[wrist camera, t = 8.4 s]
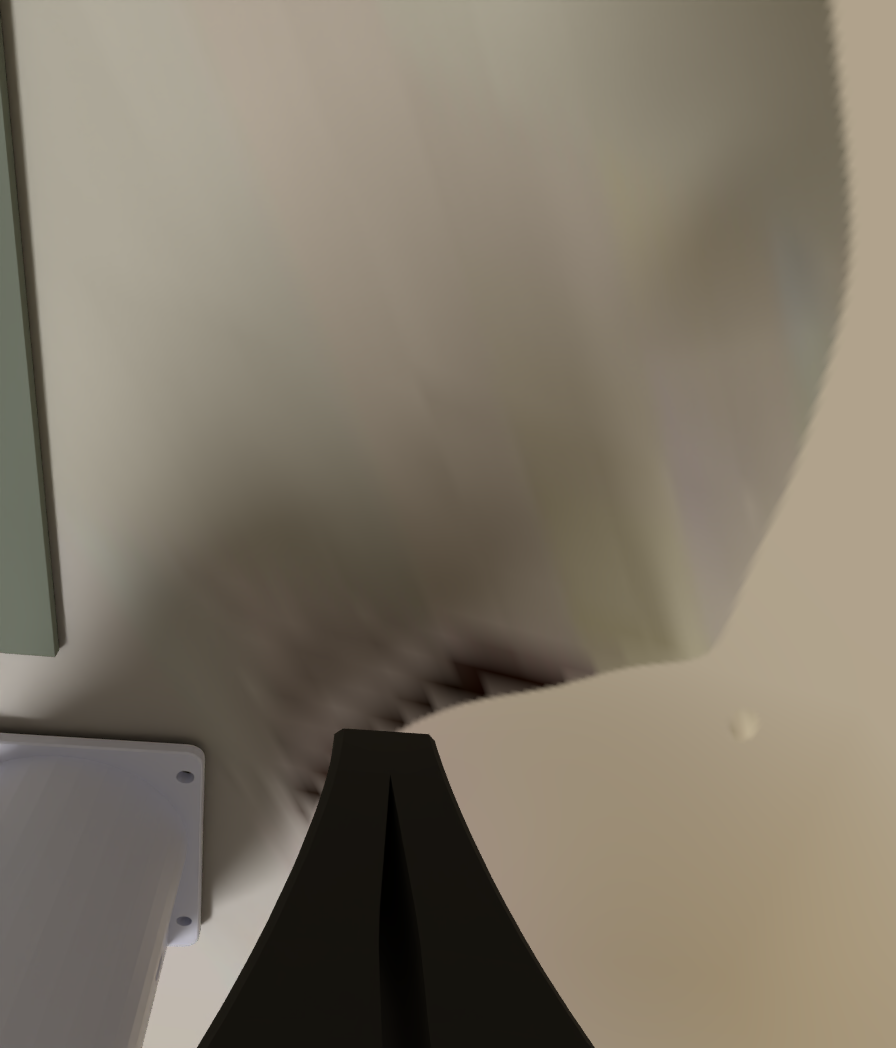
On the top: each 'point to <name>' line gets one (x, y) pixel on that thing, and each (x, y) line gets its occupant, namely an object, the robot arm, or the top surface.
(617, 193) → the top surface
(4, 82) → the mat
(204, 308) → the top surface
